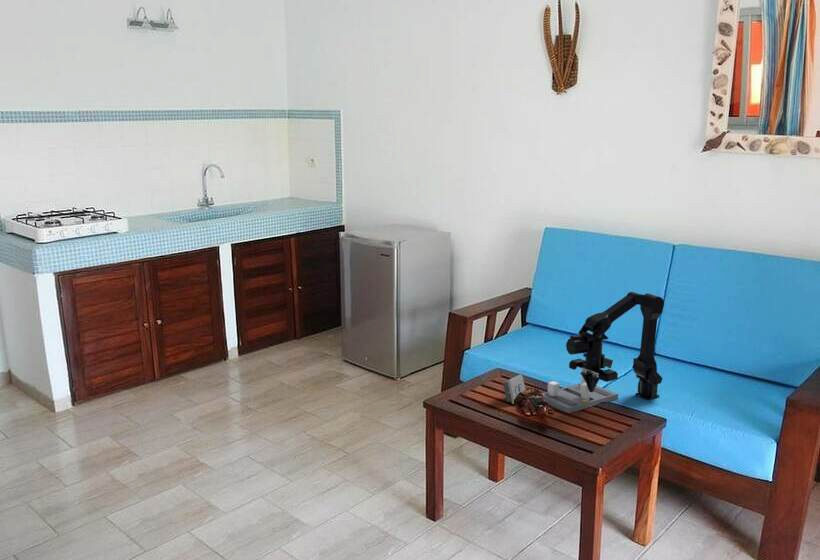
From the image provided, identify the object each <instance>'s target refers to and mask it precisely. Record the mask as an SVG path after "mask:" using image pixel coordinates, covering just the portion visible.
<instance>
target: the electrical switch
mask: <svg viewBox="0 0 820 560" xmlns="http://www.w3.org/2000/svg"><path fill="white" fill-rule="evenodd" d="M502 386H503V389H504V395H505V399H506V403H507V402H510V403H511V404H512V405H513V404H514V399H515V397H516V396H517V395H518V394H519V393H520V392H522V391H524V390H526V387H525V386H526V384H525V382H524V376H523V375H522V374H518V375H516V376H513V377H510V378H509V379H507V380H504V381H503V382H502ZM510 403H509V404H510Z"/></svg>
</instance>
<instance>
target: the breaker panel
mask: <svg viewBox="0 0 820 560" xmlns="http://www.w3.org/2000/svg"><path fill="white" fill-rule="evenodd" d="M583 383H586V382H585V380H584V378H583V376H582V375H581V382H579V383H576V384H571V385H568V386H565V387H561V388H560V383H559V382H558V381H553V380H552V381H549V382H547V392H543V393H541V394H542V395H543V398H544V399H545V401H546V402H547V403H548V404H547V405H549V406H551V407H553V408H555V409H558V410H560V411H561V412H564V413H566V412H567V413H566V414H568V413H569V414H572V413H571V412H573V413H575V411H576V412H579V411H582V409H583V410H585V408H586V409H589V408H592V406H593V407H596V406H598V405H597V404H599V403H600V402H606V403H609V402H612V401H616V400H619V394H618V393H616V392H614V391H611V390H610V389H606V388H604V387H601V386H599V385H598V384H597V385H596V387H595V389H594V391H593V392H592V393H591V394H590V399H589V401H588V400H586V399H583V398H581V393H580V384H583ZM595 405H596V406H595ZM599 405H600V404H599ZM588 407H589V408H588ZM578 410H579V411H578Z"/></svg>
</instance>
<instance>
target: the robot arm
mask: <svg viewBox="0 0 820 560" xmlns="http://www.w3.org/2000/svg"><path fill="white" fill-rule="evenodd" d="M637 305H639V308H640V312H641V314H642V317H643V321H642V329H641V330H642V331H641V338H640V339H641V341H640V349H639V354H638V356H637V357H634V358H633V360H632V362H633V363H632V366H631V368H632V369H633V373H635V377H636V379H638V383H637V392H636V393H635V396H638V397H640V398H643V399H645V400H649V401H650V400H652V399H657V398H659V397H660V394H658V385H659V384H660V385H661V384H662V381H663V377H662V376H661V375H660V374H659V372H658V367H657V365H658V364H657V362H656V359H655V355H654V354H655V345H656V338H657V337H656V335H657V328H658V327H657V325H658V319H659V318H660V316H661V315H662V314H663V311H664V308H665V300H664V299H663V298H662V297H661V296H658V295H655V294H653V293H648V292H647V293H645V294H641V293H637V292H634V291H630V292H627V294H626V296H624V297H622V298H621V299H620V300H617V302H615V303H614V304H613V305H611V306H609V307H608V308H607V309H605V310H603V311H602V312H598V313H594V314H592V315H590V316H588V317H587V318H586V319H585V321H584V324H583V325H582V327H581V328H580V330H579V331H578V335H577V334H576V335H575V334H573V335H570V336H569V338H568V339H567V341H566V343H565V348H566V350H567V351H566V352H567V353H568V354H569V355H580V354H582V355H583V358H585V359H582V358H576V359H572V360H570V361H569V363H568V368H569V369H572V370H573V371H574V370H577V368H579V369H581V372H580V375H581V377H582V376H583V378H584V380H585V382H586V384H587V386H588V389H589V391H590V392H593V391H594V389H595V387H596V385H597V386H598V383H599V381H600V380H601V381H603V382H607V383H609V382H612V381H616V380H618V378H619V374H618V372H617V371H616V370H613V369H611V368H612V366H613V363H614V359H610V358H608V357H605V356H606V355H605V354H604V353H603V344H604V343H603V342H604V341H605V340H609V337H608V335H606V332H607V331H608V330H609V329H611V326H612V324H613V323H614V322H615V321H616V320H617V319H619V318H620V317H622V316H623V315H624V314H626V313H628V312H629V311H630V310H631V309H633V308H634V307H636V306H637ZM606 368H607V369H606Z"/></svg>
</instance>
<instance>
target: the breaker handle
mask: <svg viewBox="0 0 820 560" xmlns="http://www.w3.org/2000/svg"><path fill="white" fill-rule="evenodd" d="M580 393H581V398H583V399H586V400H588V401H589V399H590V394H591V393H592V392H590V391H589V389H588V386H587V384H586V383H583V384H580Z"/></svg>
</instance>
